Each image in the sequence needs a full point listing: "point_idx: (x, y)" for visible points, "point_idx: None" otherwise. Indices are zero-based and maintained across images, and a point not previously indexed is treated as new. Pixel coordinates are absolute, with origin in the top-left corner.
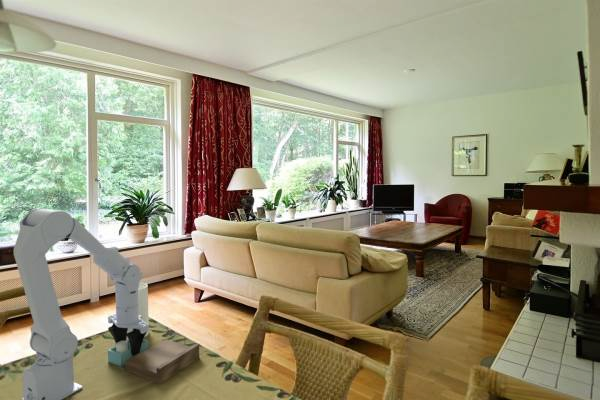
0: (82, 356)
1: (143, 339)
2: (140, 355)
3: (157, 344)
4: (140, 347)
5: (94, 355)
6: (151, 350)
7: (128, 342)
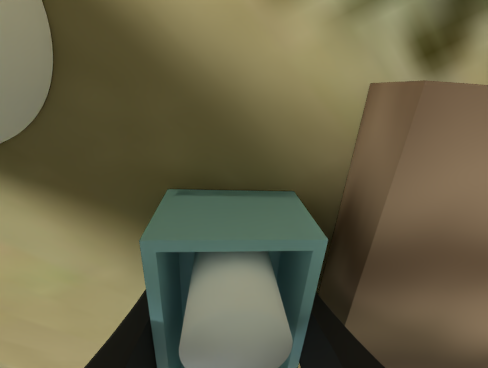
0: (11, 359)
1: (269, 246)
2: (368, 329)
3: (395, 196)
4: (326, 308)
5: (50, 334)
6: (401, 272)
7: (167, 298)
